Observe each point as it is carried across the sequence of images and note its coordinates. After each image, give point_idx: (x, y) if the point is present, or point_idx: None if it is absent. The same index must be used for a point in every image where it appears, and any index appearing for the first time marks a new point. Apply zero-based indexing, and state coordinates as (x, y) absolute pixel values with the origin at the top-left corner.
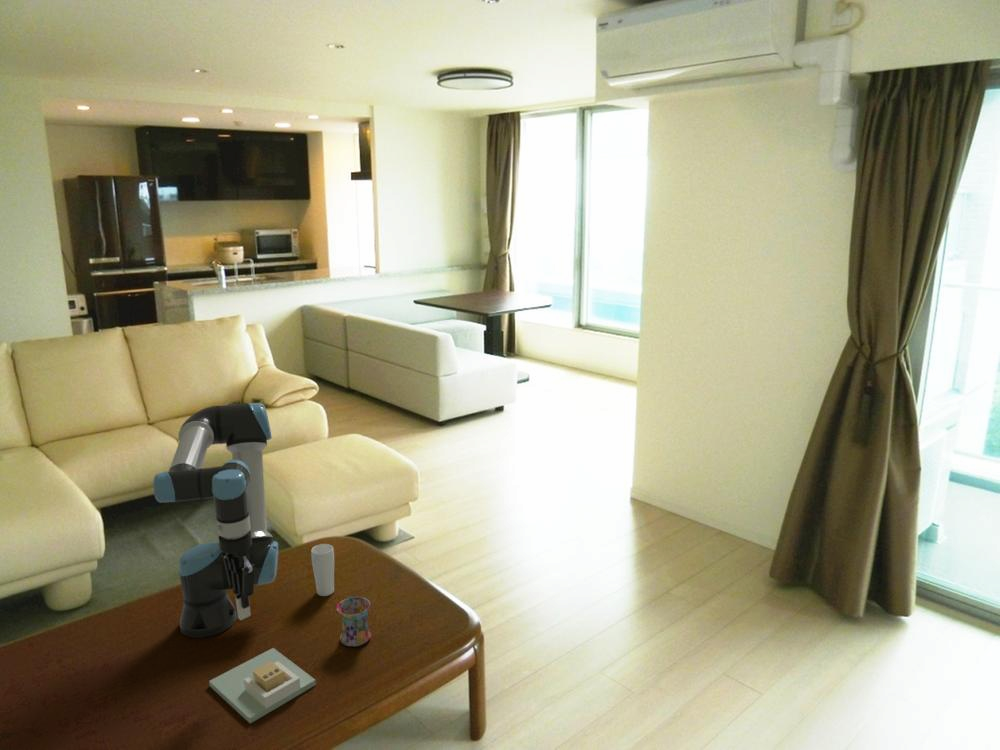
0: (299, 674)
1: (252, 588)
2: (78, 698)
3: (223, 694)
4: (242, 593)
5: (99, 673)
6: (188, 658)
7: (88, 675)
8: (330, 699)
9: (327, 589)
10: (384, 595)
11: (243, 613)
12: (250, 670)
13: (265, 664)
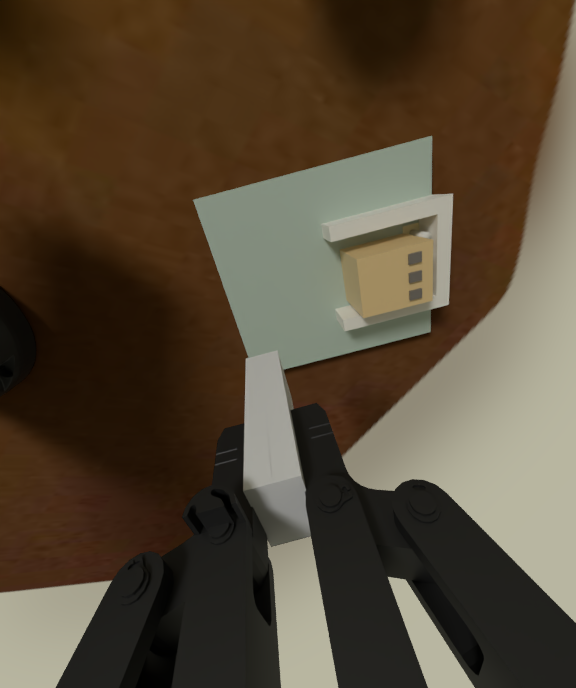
0: (375, 173)
1: (530, 589)
2: (172, 524)
3: (320, 359)
4: (432, 597)
5: (110, 508)
6: (123, 391)
7: (109, 518)
8: (504, 127)
9: None
10: None
11: (290, 401)
12: (270, 290)
13: (361, 278)
